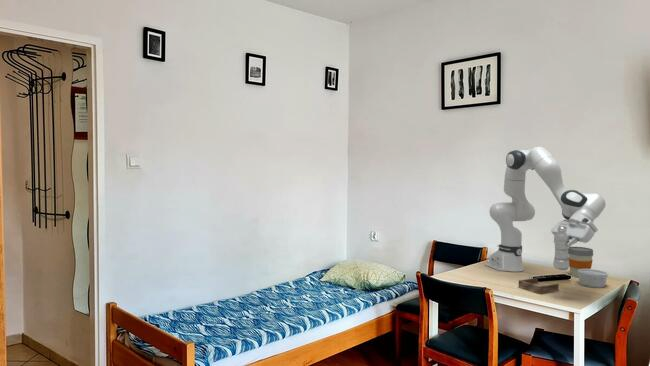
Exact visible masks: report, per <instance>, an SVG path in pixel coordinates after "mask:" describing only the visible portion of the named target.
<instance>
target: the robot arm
mask: <svg viewBox="0 0 650 366" xmlns="http://www.w3.org/2000/svg"><path fill="white" fill-rule="evenodd" d="M505 163H506V169H505V172H504V173H505V174H504V180H503V181H504V183H503V193H504V194H505V195H507V197H510V198H511V201H510V202H496V203H493V204H491V206H490V208H489V210H488V211H489V212H488V213H489V216H490V218H491V220H493V221H494V222H495V223H496V224H497V225H498V227H499V231H500V244H498V245H497V246H496V247H497V248H498V250H496V251H494V252H493V253H492V254H491V255H489V259H488V262H485V263H484V266H487V267H489V268H491V269H494V270H497V271H502V272H522V271H525V268H524V264H523V257H522V253H523V245H522V243H523V242H522V241H523V240H522V237H523V235H522V231H521V230H520V229H518V228H517V227H515V226H514V223H513V222H526V221H527V222H528V221H532V220H533V219H534V217H535V214H536V210H535V207H534V206H533V204H532V203H530V202H529V201H528V199H527V196H526V193H525V192H526V187H525V186H526V177H527V176H526V173H527V171H528V170H532V171H533V170H534V171H535V172H536V174H538V176H539V177H540V179H541V180H542V181H543V182H544V183H545V185H546V186H547V187H548V189H549V190H550V192H551V193H552V195H553V196H554V197H555V199H556V201H557V202H558V204H559V205H560V208H561V215H562V217H563V218H564V219H563V220H560V221H558V222H556V224H555V225H554V226H553V227H552V228H551V229H550V230H551V231H550V232H551V234H552V235H553V236H555V235H556V233H557V232H558V231H557V230H558V226H563V227H567V231H566V233H567V234H568V236H569V238H570V241H569V242H567V243H566V246H567V247H573V245H574V244H575V245H576V244H577V243H578V242H580V243H584V244H587V243H589V242H590V241H591V240H592V238H594V236H595V233H597V232H598V231H599V229H598V228H597V227H596V225H595V223H594V221H595V219H597V218H599V217H600V215H601V214H602V212H603V211H604V209H605V208H606V201H605V199H604V198H603V197H602V196H601V195H600V194H599V193H596V192H591V193H587V192H586V193H585V192H581V191H578V190H575V189H570V190H567V188H566V187H565V184H564V181H563V177H562V170H561V167H560V165H559V163H558V161H557V160H556V158H555V157H554V155H553V154H552V153H550V151H548V150H547V149H546V148H545V147H544V146H535V147H533V148H531V149H530V148H529V149H527V148H525V149H519V150H517V149H516V150H511V151H509V152H508V153H507V154H506V157H505Z"/></svg>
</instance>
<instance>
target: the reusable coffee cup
mask: <svg viewBox="0 0 650 366" xmlns="http://www.w3.org/2000/svg"><path fill="white" fill-rule="evenodd" d="M593 256H594V250H593V248H590V247H585V246H571V247H568V260H569V273H570V276H572V277H575V278H579V273H578V270H579V269H592V265H593Z"/></svg>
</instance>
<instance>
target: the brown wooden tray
mask: <svg viewBox="0 0 650 366" xmlns="http://www.w3.org/2000/svg"><path fill="white" fill-rule="evenodd" d="M518 288H519V289H522V290H526V291H528V292H532V293H535V294H537V295H545V294H550V293H551V294H552V293H555V292H559V291H560V289H559V283H552V284H543V283H539V278H538V277H533V278H527V279H521V280H518Z"/></svg>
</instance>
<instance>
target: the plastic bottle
mask: <svg viewBox="0 0 650 366" xmlns="http://www.w3.org/2000/svg"><path fill="white" fill-rule="evenodd" d="M557 231H558V232H557V233H556V235H553V243H554V258H553V263H552V264H553V268H554V269H556V270H560V271H566V270H568V269H570V266H569V260H568V247H567V246H566V243H567V242H569V241H571V239H570V238H569V236H568V234H567V233H566V231H567V227H563V226H558V230H557Z"/></svg>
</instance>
